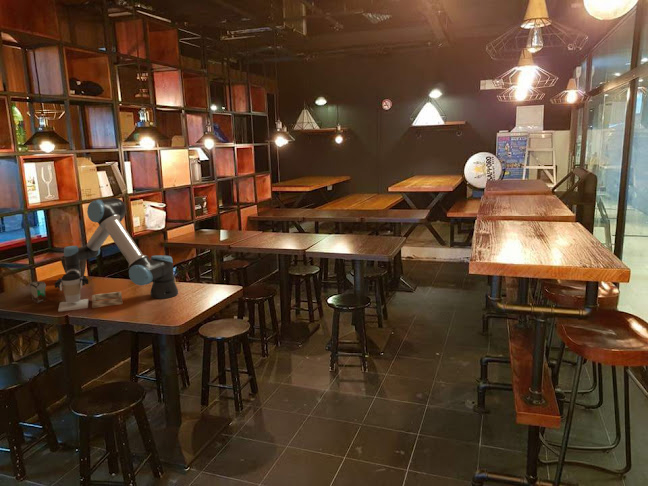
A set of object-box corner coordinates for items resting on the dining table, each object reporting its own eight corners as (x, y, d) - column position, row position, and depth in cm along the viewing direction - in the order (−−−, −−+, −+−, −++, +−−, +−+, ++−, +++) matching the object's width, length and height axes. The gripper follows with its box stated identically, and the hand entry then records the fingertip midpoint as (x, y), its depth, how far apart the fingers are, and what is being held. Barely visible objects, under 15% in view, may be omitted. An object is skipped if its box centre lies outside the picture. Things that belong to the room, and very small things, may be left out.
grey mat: (88, 300, 276) (88, 298, 276) (88, 307, 263) (87, 306, 263) (60, 304, 270) (59, 302, 270) (58, 311, 258) (58, 309, 258)
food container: (51, 301, 275) (49, 284, 273) (39, 304, 271) (36, 286, 269) (43, 296, 284) (41, 280, 282) (31, 299, 279) (29, 282, 277)
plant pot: (60, 280, 318) (57, 256, 315) (84, 276, 328) (82, 252, 324) (67, 285, 307) (64, 260, 304) (92, 280, 317) (89, 256, 314)
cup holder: (121, 296, 283) (120, 291, 282) (122, 303, 269) (122, 298, 269) (92, 300, 277) (92, 294, 276) (92, 307, 263) (91, 302, 263)
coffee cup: (74, 304, 261) (71, 276, 258) (59, 303, 263) (56, 275, 260) (86, 298, 270) (83, 272, 267) (71, 297, 272) (68, 271, 269)
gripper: (94, 281, 286) (94, 291, 266) (51, 285, 277) (48, 296, 257) (93, 268, 284) (93, 277, 264) (50, 272, 276) (46, 282, 255)
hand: (71, 287), depth 261 cm, fingers closed on coffee cup, 9 cm apart
